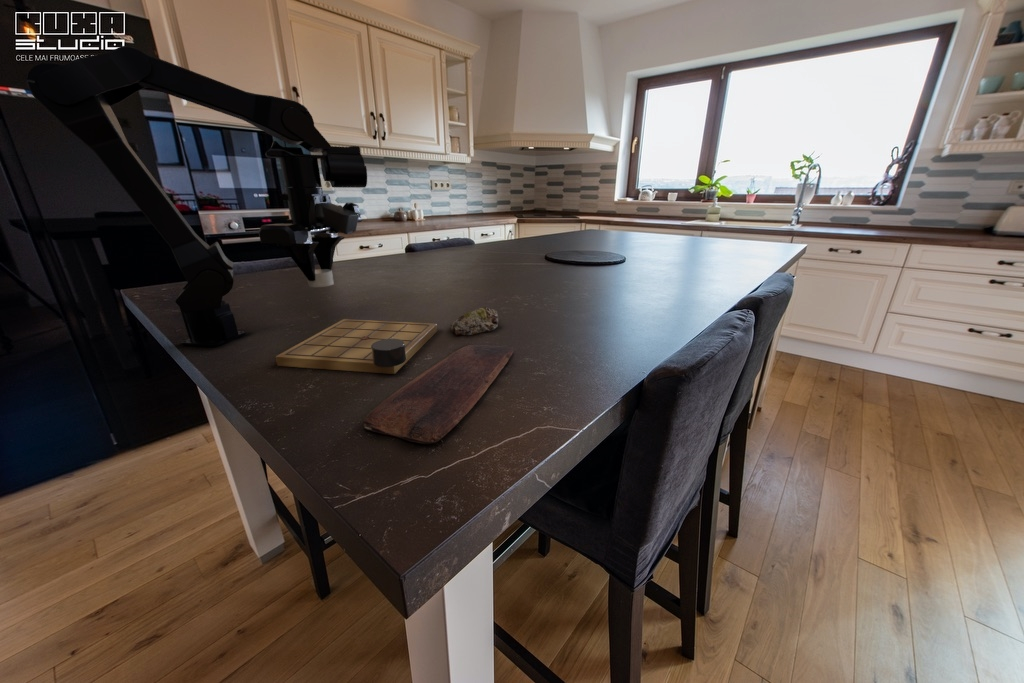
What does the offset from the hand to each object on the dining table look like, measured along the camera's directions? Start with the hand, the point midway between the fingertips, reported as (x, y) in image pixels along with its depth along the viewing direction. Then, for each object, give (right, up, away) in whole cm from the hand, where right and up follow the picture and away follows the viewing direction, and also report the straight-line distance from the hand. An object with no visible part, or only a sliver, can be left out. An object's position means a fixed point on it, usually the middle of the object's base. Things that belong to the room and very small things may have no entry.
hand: (319, 278), depth 73 cm
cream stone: (0, -1, 0) cm, 1 cm away
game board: (+12, -13, -9) cm, 19 cm away
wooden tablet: (+28, -18, -22) cm, 40 cm away
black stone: (+18, -14, -18) cm, 30 cm away
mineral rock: (+28, -9, 0) cm, 30 cm away
